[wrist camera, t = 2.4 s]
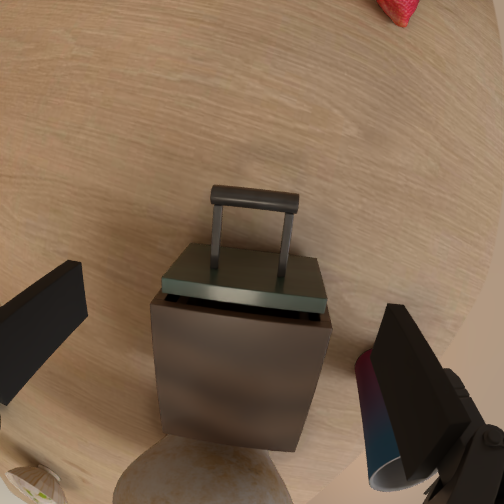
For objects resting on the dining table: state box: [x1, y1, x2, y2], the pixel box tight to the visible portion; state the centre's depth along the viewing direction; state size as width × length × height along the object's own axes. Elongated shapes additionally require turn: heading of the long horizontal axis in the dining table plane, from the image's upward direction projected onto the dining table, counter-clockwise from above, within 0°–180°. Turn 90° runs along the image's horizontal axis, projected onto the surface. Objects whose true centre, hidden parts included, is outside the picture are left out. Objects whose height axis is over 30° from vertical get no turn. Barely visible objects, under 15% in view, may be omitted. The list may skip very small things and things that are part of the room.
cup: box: [355, 349, 438, 492], centre depth 26 cm, size 7×7×15 cm
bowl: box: [5, 465, 68, 504], centre depth 50 cm, size 19×19×10 cm
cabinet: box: [150, 288, 332, 452], centre depth 28 cm, size 15×13×10 cm
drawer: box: [162, 185, 327, 320], centre depth 26 cm, size 20×11×8 cm, turn 174°
